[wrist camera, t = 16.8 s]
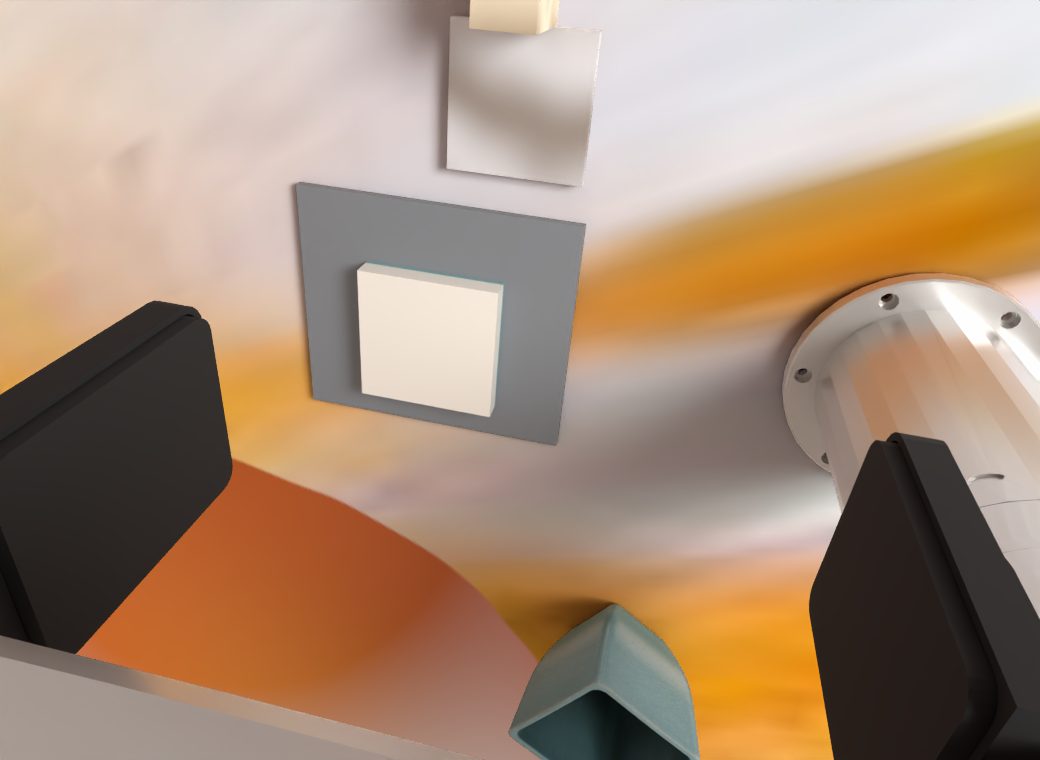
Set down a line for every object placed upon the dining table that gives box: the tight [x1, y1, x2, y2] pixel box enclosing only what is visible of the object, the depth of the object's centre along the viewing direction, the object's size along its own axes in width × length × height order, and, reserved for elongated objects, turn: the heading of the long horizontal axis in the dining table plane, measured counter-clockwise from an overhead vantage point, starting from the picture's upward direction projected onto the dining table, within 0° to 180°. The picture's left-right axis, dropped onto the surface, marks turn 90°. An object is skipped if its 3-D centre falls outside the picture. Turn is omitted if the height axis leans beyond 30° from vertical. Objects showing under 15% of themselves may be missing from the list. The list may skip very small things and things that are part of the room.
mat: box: [296, 182, 586, 446], centre depth 42 cm, size 16×14×1 cm
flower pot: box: [509, 604, 700, 760], centre depth 48 cm, size 9×9×9 cm
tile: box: [357, 261, 504, 417], centre depth 42 cm, size 8×1×8 cm
